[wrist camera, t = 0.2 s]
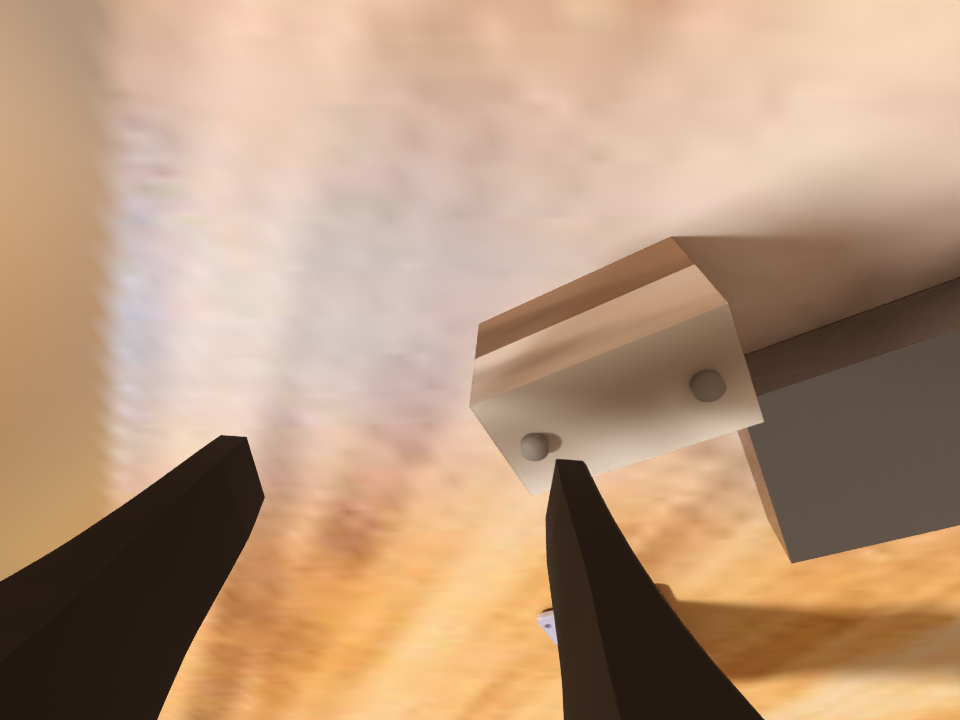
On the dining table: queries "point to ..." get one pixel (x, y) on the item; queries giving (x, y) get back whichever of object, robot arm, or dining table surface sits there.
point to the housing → (612, 369)
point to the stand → (861, 427)
